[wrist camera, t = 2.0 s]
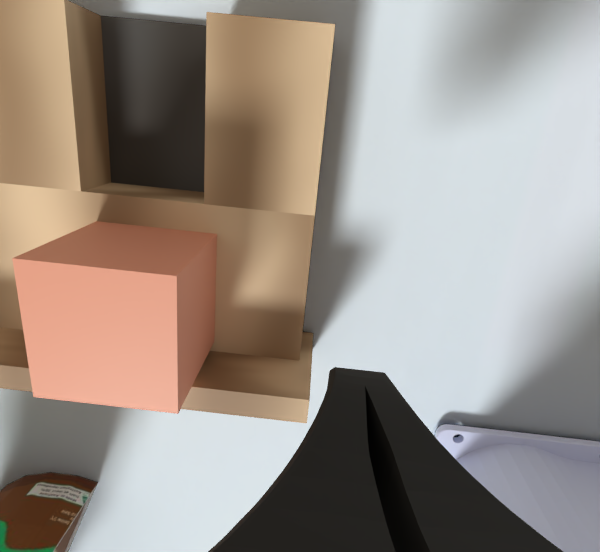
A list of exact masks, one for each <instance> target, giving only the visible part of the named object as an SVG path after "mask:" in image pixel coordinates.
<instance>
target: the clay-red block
mask: <svg viewBox="0 0 600 552" xmlns="http://www.w3.org/2000/svg"><path fill="white" fill-rule="evenodd" d="M216 258H217V234H213V233H204V232H194V231H185V230H175V229H166V228H157V227H147V226H138V225H128V224H119V223H109V222H100V221H96V222H94V223H91V224H89V225H87V226H85V227H82V228H80V229H78V230H75V231H73V232H71V233H69V234H66V235H64V236H62V237H60V238H57V239H55V240H53V241H50V242H48V243H46V244H44V245H41V246H39V247H37V248H35V249H32V250H30V251H28V252H25V253H23V254H21V255H19V256H16V257H14V258H12V260H13V267H14V273H15V280H16V286H17V293H18V300H19V306H20V313H21V319H22V326H23V332H24V339H25V345H26V352H27V359H28V365H29V372H30V378H31V385H32V391H33V397H38V398H46V399H55V400H64V401H72V402H81V403H90V404H99V405H107V406H116V407H125V408H133V409H142V410H151V411H159V412H168V413H177V414H178V413H179V411H180V409H181V407H182V405H183V403H184V401H185V399H186V397H187V395H188V393H189V391H190V389H191V387H192V385H193V383H194V381H195V379H196V377H197V375H198V373H199V371H200V369H201V367H202V365H203V363H204V361H205V359H206V357H207V355H208V353H209V351H210V349H211V347H212V345H213V343H214V338H215V298H216Z"/></svg>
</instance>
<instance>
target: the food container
mask: <svg viewBox="0 0 600 552" xmlns="http://www.w3.org/2000/svg"><path fill="white" fill-rule="evenodd" d="M97 483H98V482H95V481H92V480H89V479H86V478H83V477H80V476H76V475H68V474H60V473H52V472H50V473H42V474H34V475H26V476H24V477H22V478H20V479H18V480H16V481H14V482H12V483H10V484H8V485H7V486H5V487H4V488H3V489H2V490H1V491H0V552H68V550H69V548H70V546H71V543H72V541H73V539H74V537H75V534H76V532H77V530H78V527H79V525H80V523H81V520H82V518H83V516H84V513H85V511H86V509H87V507H88V504H89V502H90V500H91V497H92V495H93V493H94V490H95V488H96V486H97Z"/></svg>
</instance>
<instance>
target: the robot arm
mask: <svg viewBox="0 0 600 552" xmlns="http://www.w3.org/2000/svg"><path fill="white" fill-rule="evenodd" d="M457 434H460V436H459V437H454V436H455V435H457ZM208 552H600V442H599V441H590V440H582V439H573V438H564V437H555V436H547V435H538V434H529V433H520V432H512V431H503V430H494V429H485V428H476V427H468V426H459V425H450V424H444V425H441V426H439V427H438V428H437V430H436V432H435V436H434V435H433V434H432V433H431V432H430V431H429V429H428V428H427V427H426V426H425V425H424V423H423V422H422V421H421V420H420V418H419V417H418V416H417V415H416V413H415V412H414V411H413V410H412V408H411V407H410V406H409V404H408V403H407V402H406V401H405V399H404V398H403V397H402V395H401V394H400V393H399V391H398V390H397V389H396V387H395V386H394V385H393V383H392V382H391V381H390V379H389V378H388V377H387V375H386V374H385V373H382V372H373V371H364V370H355V369H345V368H336V367H335V368H333V369H332V370H330V373H329V380H328V387H327V391H326V394H325V397H324V400H323V402H322V404H321V407H320V409H319V411H318V413H317V416H316V418H315V420H314V422H313V424H312V425H311V427H310V429H309V431H308V433H307V434H306V436H305V438H304V440H303V442H302V443H301V445H300V446H299V448H298V450H297V451H296V453H295V454H294V456H293V457H292V459H291V460H290V461H289V463H288V464H287V466H286V467H285V469H284V470H283V471H282V473H281V474H280V475H279V477H278V478H277V479H276V480H275V482H274V483H273V484H272V485H271V487H270V488H269V489H268V490H267V492H266V493H265V494H264V495H263V496H262V498H261V499H260V500H259V501H258V502H257V503H256V505H255V506H254V507H253V508H252V509H251V510H250V511H249V512H248V513H247V514H246V515H245V516H244V517H243V518H242V519H241V520H240V521H239V522H238V523H237V524H236V525H235V527H234V528H233V529H232V530H231V531H230V532H229V533H228V534H227V535H226V536H225V537H224V538H223V539H222V540H221V541H220V542H218V543H217V544H216V545H215V546H214V547H213V548H212V549H211V550H210V551H208Z"/></svg>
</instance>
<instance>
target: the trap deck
mask: <svg viewBox="0 0 600 552" xmlns="http://www.w3.org/2000/svg"><path fill="white" fill-rule="evenodd" d="M334 31H335V24H328V23H317V22H307V21H296V20H286V19H275V18H264V17H254V16H243V15H232V14H222V13H211V12H207V20H206V26H203V25H193V24H182V23H172V22H161V21H151V20H140V19H130V18H119V17H108V16H100V15H98V14H96V13H94V12H92V11H89V10H87V9H85V8H83V7H81V6H79V5H77V4H74V3H72V2H70V1H68V0H0V388H4V389H13V390H21V391H30V392H33V391H32V385H31V378H30V372H29V365H28V359H27V352H26V345H25V339H24V332H23V326H22V319H21V313H20V306H19V300H18V293H17V286H16V280H15V273H14V267H13V260H12V258H14V257H16V256H19V255H21V254H23V253H25V252H28V251H30V250H32V249H35V248H37V247H39V246H41V245H44V244H46V243H48V242H50V241H53V240H55V239H57V238H60V237H62V236H64V235H66V234H69V233H71V232H73V231H75V230H78V229H80V228H82V227H85V226H87V225H89V224H91V223H94V222H96V221H100V222H109V223H119V224H128V225H138V226H147V227H157V228H166V229H175V230H185V231H194V232H204V233H213V234H217V258H216V298H215V338H214V343H213V345H212V347H211V349H210V351H209V353H208V355H207V357H206V359H205V361H204V363H203V365H202V367H201V369H200V371H199V373H198V375H197V377H196V379H195V381H194V383H193V385H192V387H191V389H190V391H189V393H188V395H187V397H186V399H185V401H184V403H183V405H182V407H181V409H187V410H196V411H204V412H213V413H222V414H230V415H239V416H248V417H257V418H265V419H274V420H283V421H291V422H300V423H307V415H308V407H309V397H310V380H311V364H312V347H313V333H308V332H303V323H304V314H305V304H306V295H307V285H308V276H309V267H310V257H311V248H312V238H313V229H314V220H315V210H316V201H317V191H318V182H319V173H320V163H321V154H322V145H323V135H324V126H325V116H326V107H327V98H328V88H329V79H330V69H331V60H332V51H333V41H334Z"/></svg>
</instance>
